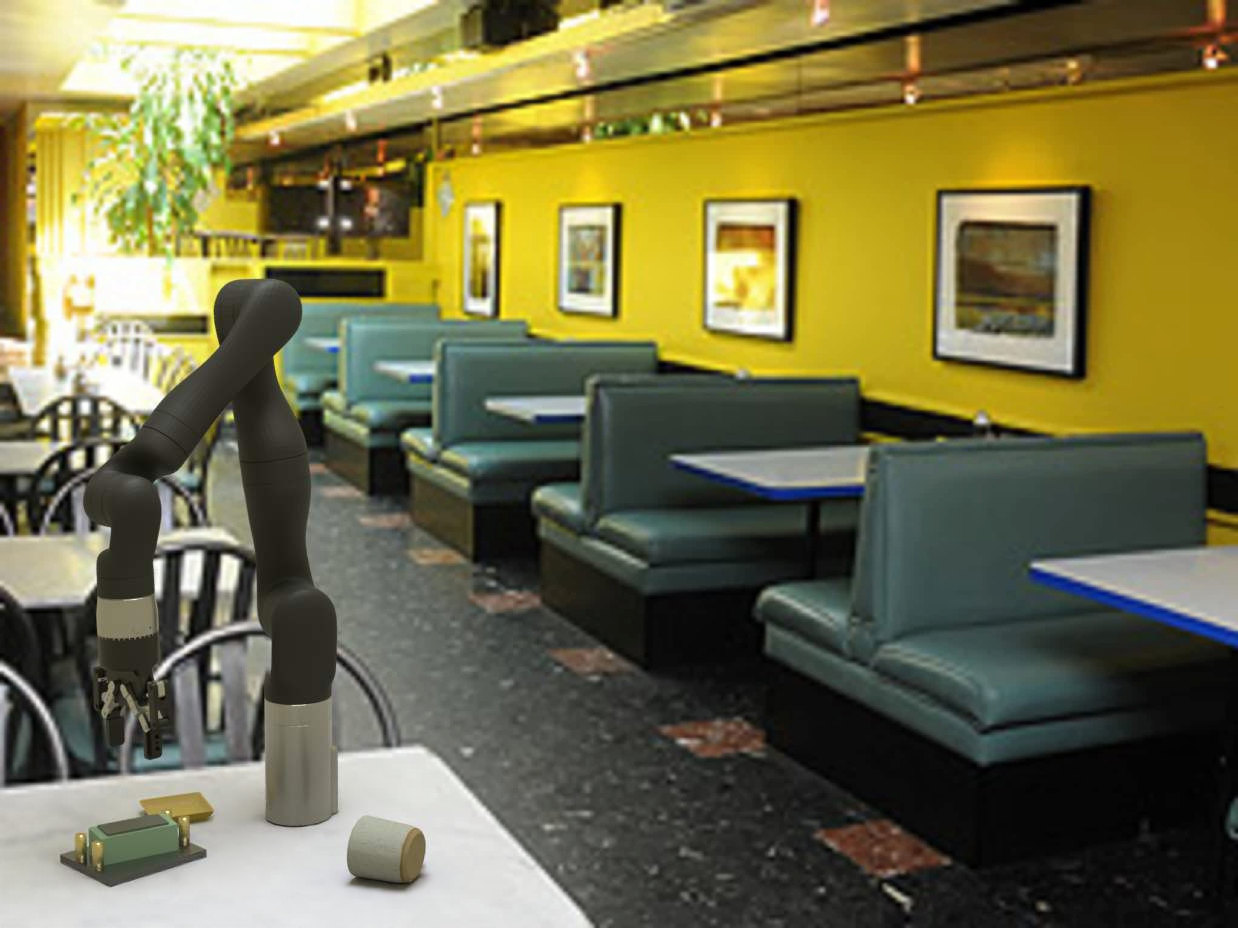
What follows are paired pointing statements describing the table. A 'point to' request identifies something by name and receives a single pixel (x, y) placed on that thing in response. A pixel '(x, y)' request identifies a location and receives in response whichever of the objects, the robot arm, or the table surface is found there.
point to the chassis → (134, 867)
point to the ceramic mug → (385, 850)
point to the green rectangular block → (135, 837)
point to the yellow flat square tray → (180, 806)
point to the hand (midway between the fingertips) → (134, 751)
